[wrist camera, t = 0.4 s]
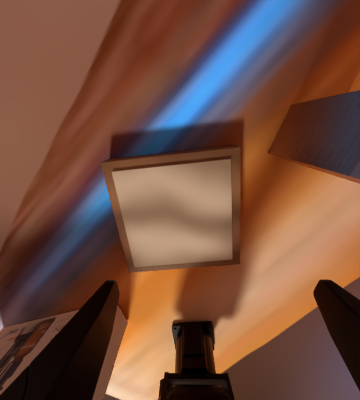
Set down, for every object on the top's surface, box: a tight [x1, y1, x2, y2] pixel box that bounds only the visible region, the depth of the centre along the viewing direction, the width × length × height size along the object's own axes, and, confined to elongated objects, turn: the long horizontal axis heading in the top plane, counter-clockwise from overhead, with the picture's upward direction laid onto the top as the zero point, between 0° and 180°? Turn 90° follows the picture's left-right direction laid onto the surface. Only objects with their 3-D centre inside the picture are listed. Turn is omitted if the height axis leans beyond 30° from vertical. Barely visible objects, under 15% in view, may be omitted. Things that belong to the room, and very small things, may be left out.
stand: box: [101, 145, 241, 273], centre depth 22 cm, size 14×14×3 cm
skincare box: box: [0, 306, 128, 400], centre depth 24 cm, size 21×5×16 cm, turn 108°
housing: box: [268, 90, 360, 184], centre depth 15 cm, size 5×5×12 cm
